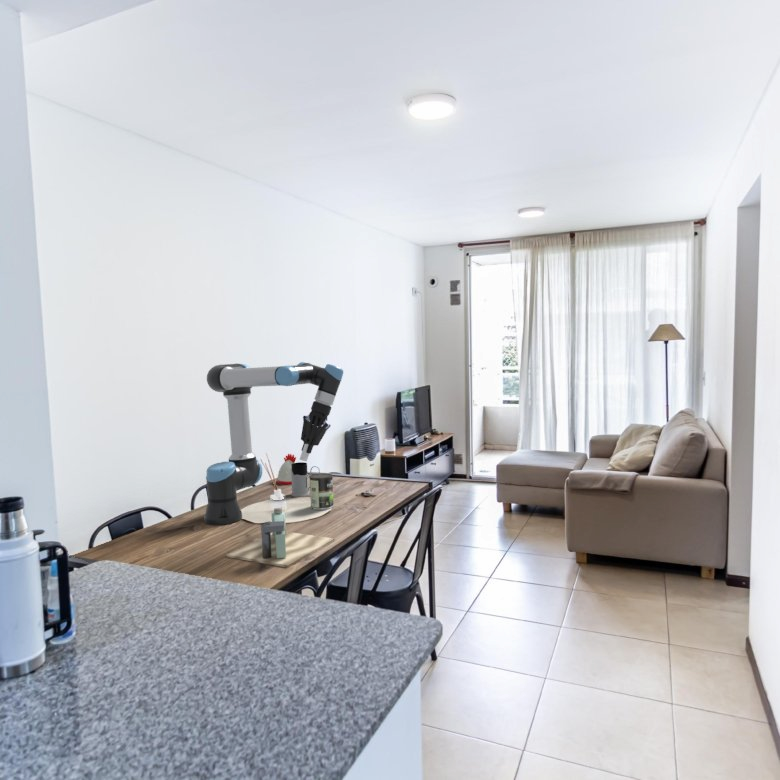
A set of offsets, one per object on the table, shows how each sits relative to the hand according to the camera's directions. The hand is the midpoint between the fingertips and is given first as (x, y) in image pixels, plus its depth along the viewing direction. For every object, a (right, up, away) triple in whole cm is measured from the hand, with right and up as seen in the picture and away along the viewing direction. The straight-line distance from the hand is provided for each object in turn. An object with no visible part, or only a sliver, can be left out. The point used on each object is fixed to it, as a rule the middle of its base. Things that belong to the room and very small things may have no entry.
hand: (303, 460), depth 225 cm
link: (-5, -27, -20) cm, 34 cm away
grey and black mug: (-7, -23, +55) cm, 60 cm away
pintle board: (-4, -29, -22) cm, 36 cm away
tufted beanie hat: (-19, -22, +83) cm, 88 cm away
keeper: (-4, -29, -32) cm, 43 cm away
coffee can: (+4, -25, +31) cm, 40 cm away
